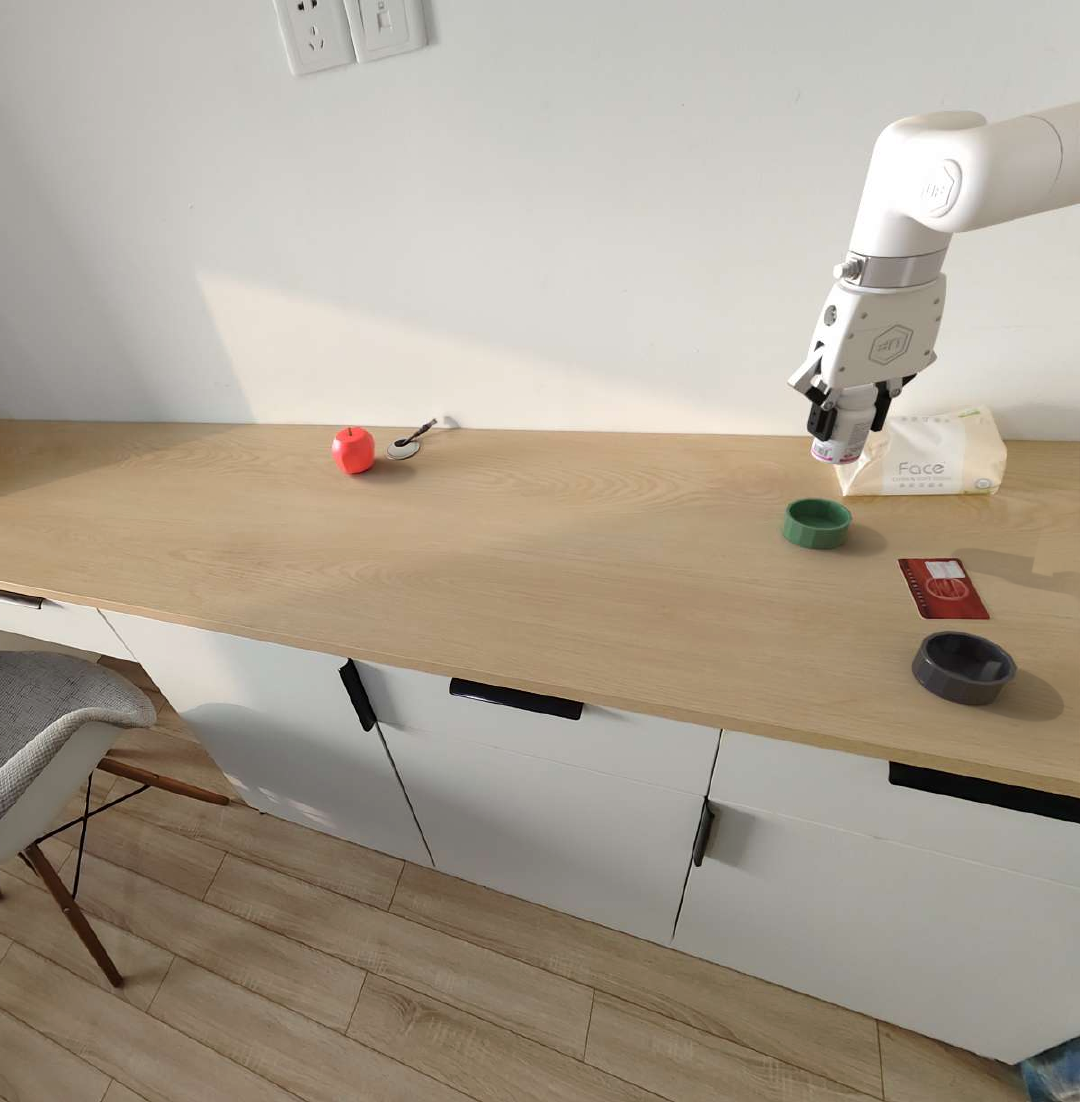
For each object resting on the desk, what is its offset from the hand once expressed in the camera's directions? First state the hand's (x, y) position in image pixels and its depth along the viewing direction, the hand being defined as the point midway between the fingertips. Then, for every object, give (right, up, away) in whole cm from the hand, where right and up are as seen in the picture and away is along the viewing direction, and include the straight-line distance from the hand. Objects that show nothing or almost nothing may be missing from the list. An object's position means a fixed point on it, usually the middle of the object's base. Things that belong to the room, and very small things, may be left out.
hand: (843, 429), depth 74 cm
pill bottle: (+1, -3, +2) cm, 4 cm away
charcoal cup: (+3, -26, -10) cm, 28 cm away
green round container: (+3, -11, +9) cm, 15 cm away
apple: (-54, +1, +44) cm, 70 cm away
